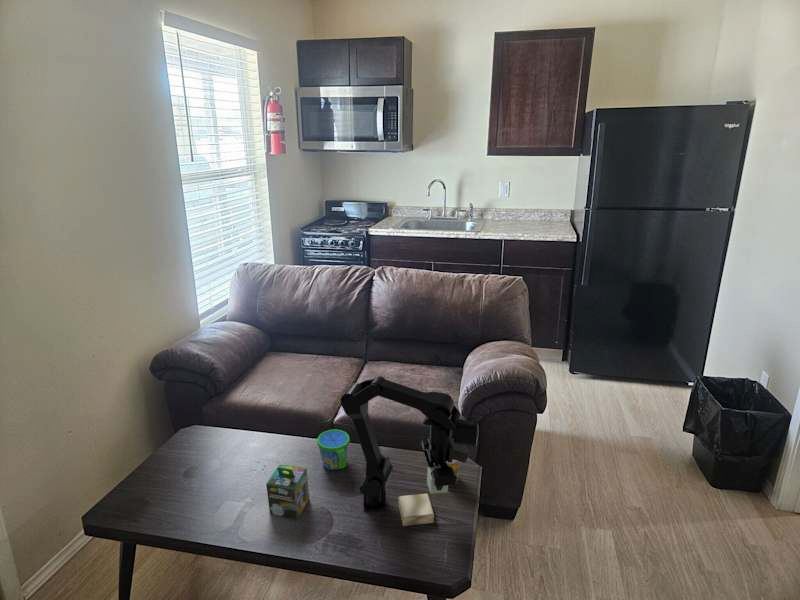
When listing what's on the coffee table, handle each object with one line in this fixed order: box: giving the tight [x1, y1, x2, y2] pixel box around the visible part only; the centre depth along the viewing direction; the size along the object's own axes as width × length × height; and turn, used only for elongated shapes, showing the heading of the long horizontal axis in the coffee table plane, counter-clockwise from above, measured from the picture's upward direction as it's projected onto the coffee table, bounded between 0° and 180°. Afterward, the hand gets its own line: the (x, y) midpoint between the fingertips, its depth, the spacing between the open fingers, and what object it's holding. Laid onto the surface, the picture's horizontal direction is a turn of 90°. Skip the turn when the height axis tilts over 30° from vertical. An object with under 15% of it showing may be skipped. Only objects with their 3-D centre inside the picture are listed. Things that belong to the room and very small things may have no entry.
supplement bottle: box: [446, 459, 460, 487], centre depth 164 cm, size 7×7×13 cm
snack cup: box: [316, 428, 351, 471], centre depth 171 cm, size 16×10×10 cm
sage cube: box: [426, 466, 449, 495], centre depth 147 cm, size 5×5×5 cm
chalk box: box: [265, 464, 310, 520], centre depth 152 cm, size 9×9×15 cm
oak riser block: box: [397, 493, 435, 527], centre depth 152 cm, size 9×9×3 cm
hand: (437, 483), depth 147 cm, fingers closed on sage cube, 5 cm apart
